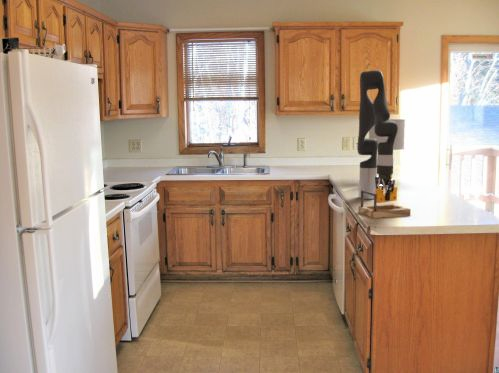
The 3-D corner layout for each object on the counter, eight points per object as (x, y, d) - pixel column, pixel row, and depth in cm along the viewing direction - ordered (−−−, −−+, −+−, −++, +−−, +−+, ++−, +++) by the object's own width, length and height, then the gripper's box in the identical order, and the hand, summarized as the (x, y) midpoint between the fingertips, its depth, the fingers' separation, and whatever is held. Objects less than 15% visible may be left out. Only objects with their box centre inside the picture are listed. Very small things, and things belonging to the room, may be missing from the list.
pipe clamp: (389, 199, 254) (389, 185, 253) (396, 200, 251) (396, 187, 250) (372, 201, 248) (372, 188, 247) (379, 203, 244) (379, 189, 243)
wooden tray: (358, 212, 254) (358, 189, 253) (392, 209, 260) (393, 187, 258) (374, 218, 240) (375, 194, 239) (410, 215, 246) (411, 192, 244)
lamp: (376, 185, 339) (378, 120, 332) (362, 180, 361) (363, 119, 354) (409, 183, 343) (411, 119, 337) (392, 179, 365) (394, 119, 359)
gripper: (370, 163, 252) (369, 197, 255) (386, 166, 239) (385, 202, 241) (383, 162, 254) (382, 196, 257) (400, 165, 241) (399, 201, 243)
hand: (384, 199), depth 249 cm, fingers closed on pipe clamp, 5 cm apart
